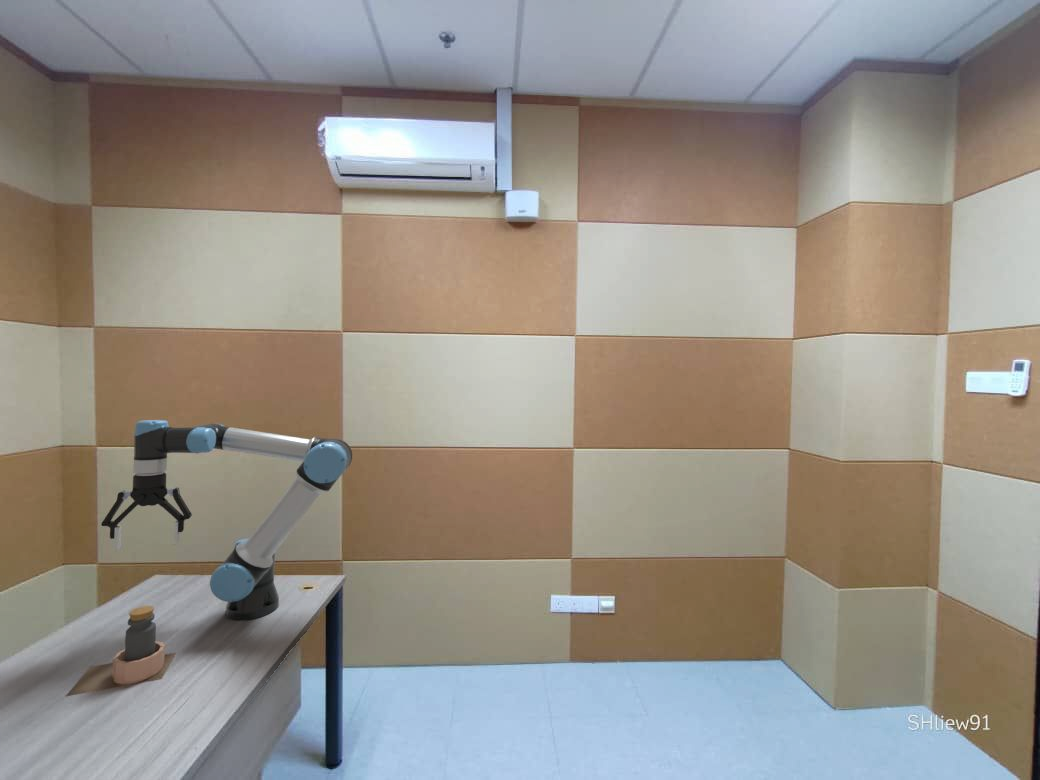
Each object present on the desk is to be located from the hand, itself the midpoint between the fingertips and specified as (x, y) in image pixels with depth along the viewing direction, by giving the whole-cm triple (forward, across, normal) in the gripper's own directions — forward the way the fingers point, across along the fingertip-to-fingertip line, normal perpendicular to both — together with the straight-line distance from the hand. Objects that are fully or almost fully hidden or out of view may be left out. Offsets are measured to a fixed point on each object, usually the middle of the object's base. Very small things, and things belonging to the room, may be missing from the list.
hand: (147, 546), depth 131 cm
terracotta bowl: (+25, -4, +22) cm, 34 cm away
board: (+26, -1, +20) cm, 33 cm away
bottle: (+25, -4, +22) cm, 33 cm away
